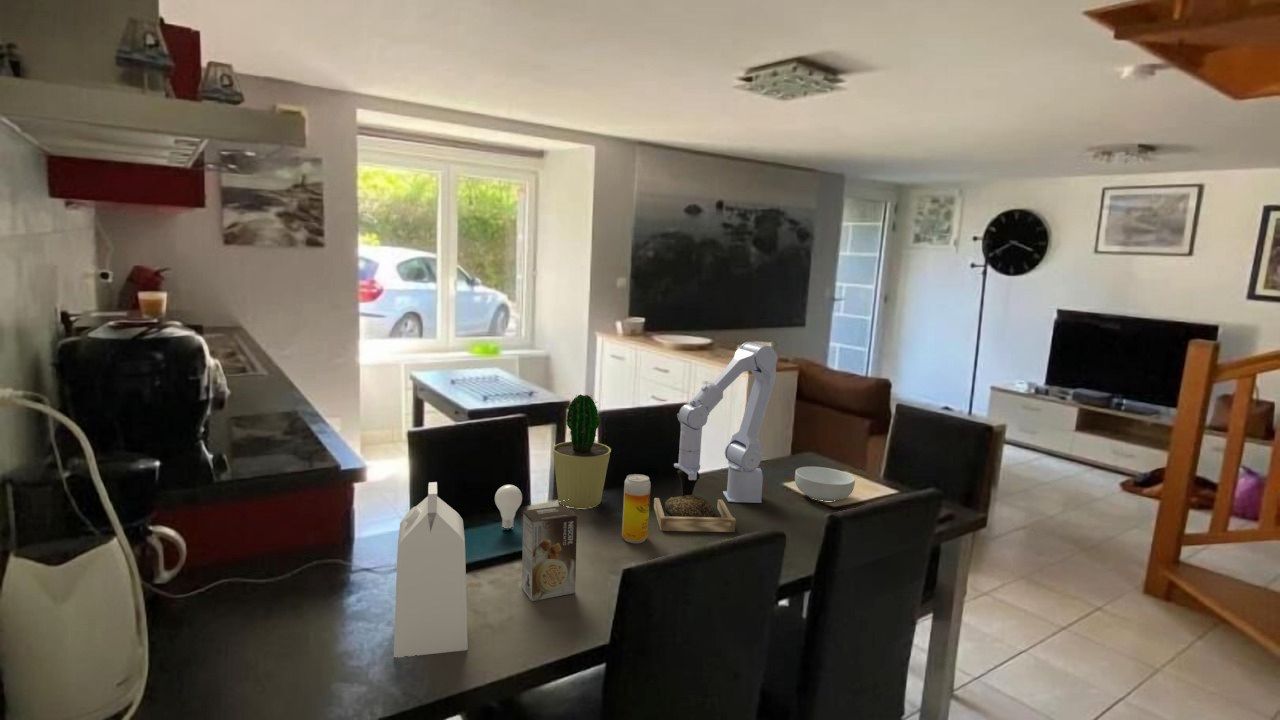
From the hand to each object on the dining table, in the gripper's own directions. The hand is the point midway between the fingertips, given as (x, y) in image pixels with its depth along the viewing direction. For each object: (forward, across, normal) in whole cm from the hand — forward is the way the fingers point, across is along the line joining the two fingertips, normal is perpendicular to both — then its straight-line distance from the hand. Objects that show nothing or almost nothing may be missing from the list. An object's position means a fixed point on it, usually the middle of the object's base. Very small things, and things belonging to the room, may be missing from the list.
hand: (686, 497), depth 187 cm
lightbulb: (+2, +20, -46) cm, 50 cm away
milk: (+2, +66, -54) cm, 85 cm away
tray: (+2, +10, 0) cm, 10 cm away
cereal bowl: (+2, -8, +41) cm, 42 cm away
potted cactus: (+2, 0, -29) cm, 29 cm away
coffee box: (+2, +50, -35) cm, 61 cm away
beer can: (+2, +24, -16) cm, 29 cm away
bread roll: (+2, +6, 0) cm, 6 cm away
